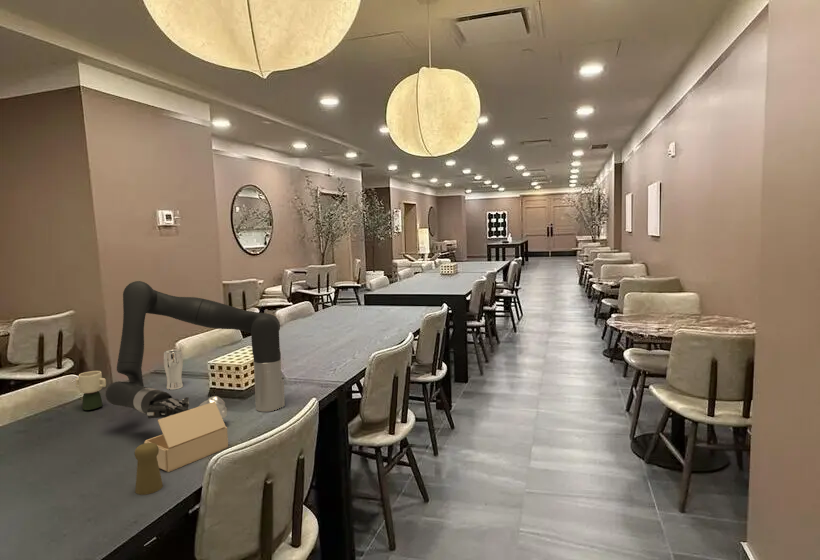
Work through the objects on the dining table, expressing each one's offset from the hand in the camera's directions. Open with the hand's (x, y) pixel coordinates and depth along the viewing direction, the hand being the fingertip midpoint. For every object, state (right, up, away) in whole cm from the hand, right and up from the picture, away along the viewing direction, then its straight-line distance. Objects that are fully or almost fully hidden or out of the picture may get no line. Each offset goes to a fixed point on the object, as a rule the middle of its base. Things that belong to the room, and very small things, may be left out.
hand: (186, 413), depth 140 cm
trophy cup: (-52, -9, +41) cm, 67 cm away
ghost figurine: (-1, -10, +22) cm, 24 cm away
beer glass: (-33, -7, +65) cm, 73 cm away
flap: (+5, -6, -3) cm, 8 cm away
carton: (0, -12, +1) cm, 12 cm away
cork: (-1, -14, -18) cm, 22 cm away
